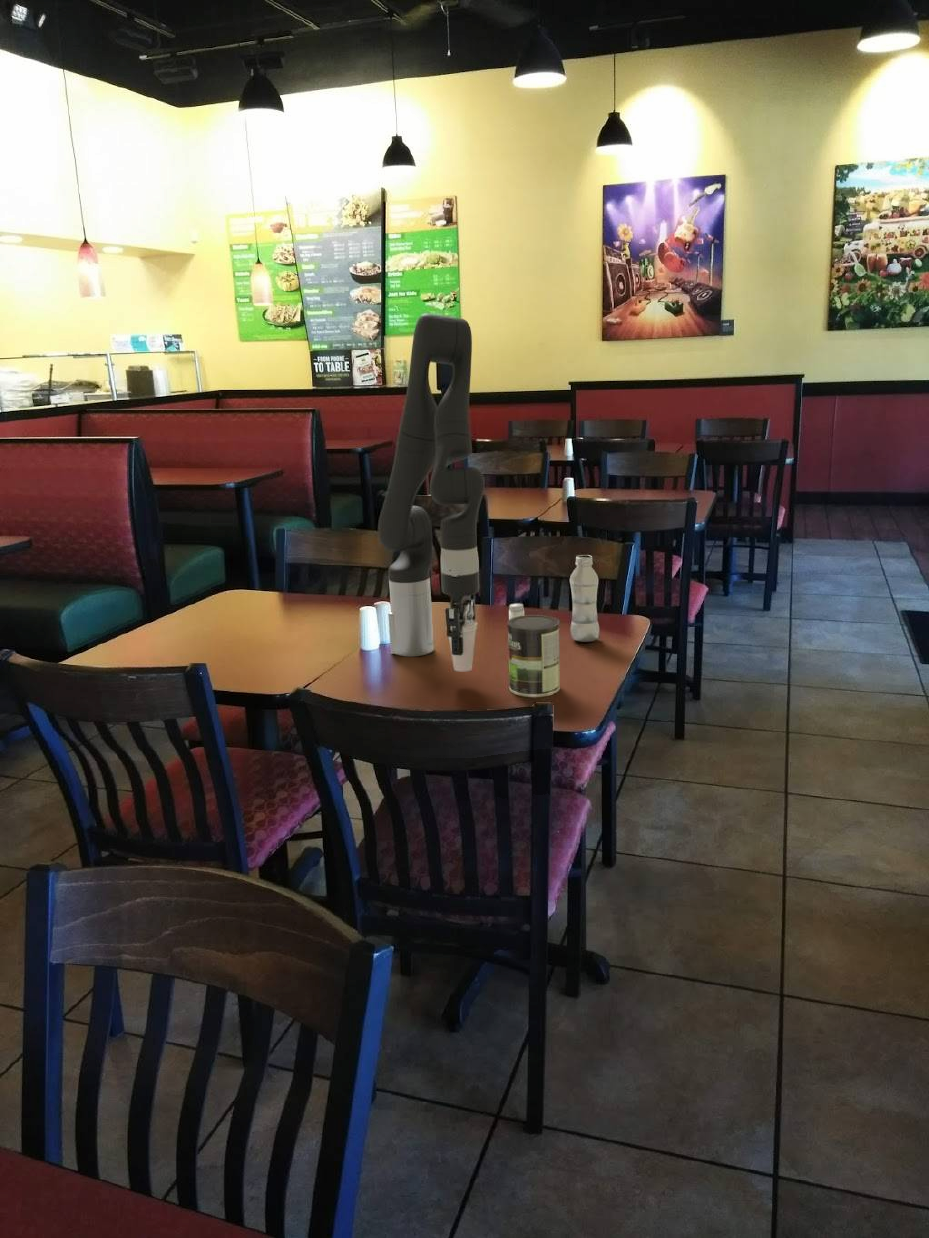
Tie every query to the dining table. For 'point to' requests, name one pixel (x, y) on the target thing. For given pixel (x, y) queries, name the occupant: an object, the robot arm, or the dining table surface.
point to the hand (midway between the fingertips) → (462, 649)
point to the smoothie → (465, 648)
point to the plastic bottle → (584, 600)
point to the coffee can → (533, 655)
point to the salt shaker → (516, 610)
